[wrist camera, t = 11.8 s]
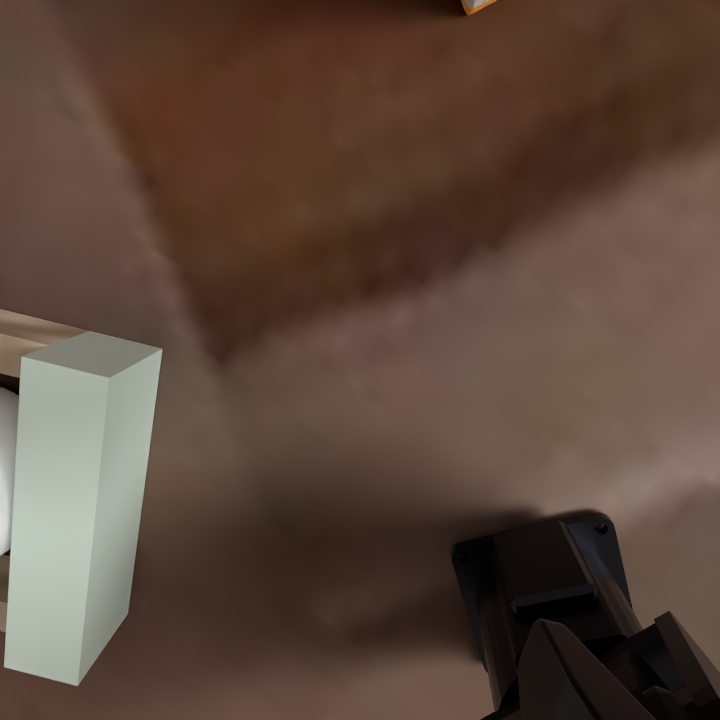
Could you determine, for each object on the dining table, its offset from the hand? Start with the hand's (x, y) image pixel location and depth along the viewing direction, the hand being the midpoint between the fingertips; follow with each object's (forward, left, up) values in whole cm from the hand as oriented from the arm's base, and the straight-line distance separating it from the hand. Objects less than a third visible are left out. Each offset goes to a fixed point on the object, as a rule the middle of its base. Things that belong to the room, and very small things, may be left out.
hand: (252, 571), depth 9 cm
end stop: (-3, +11, -13) cm, 17 cm away
